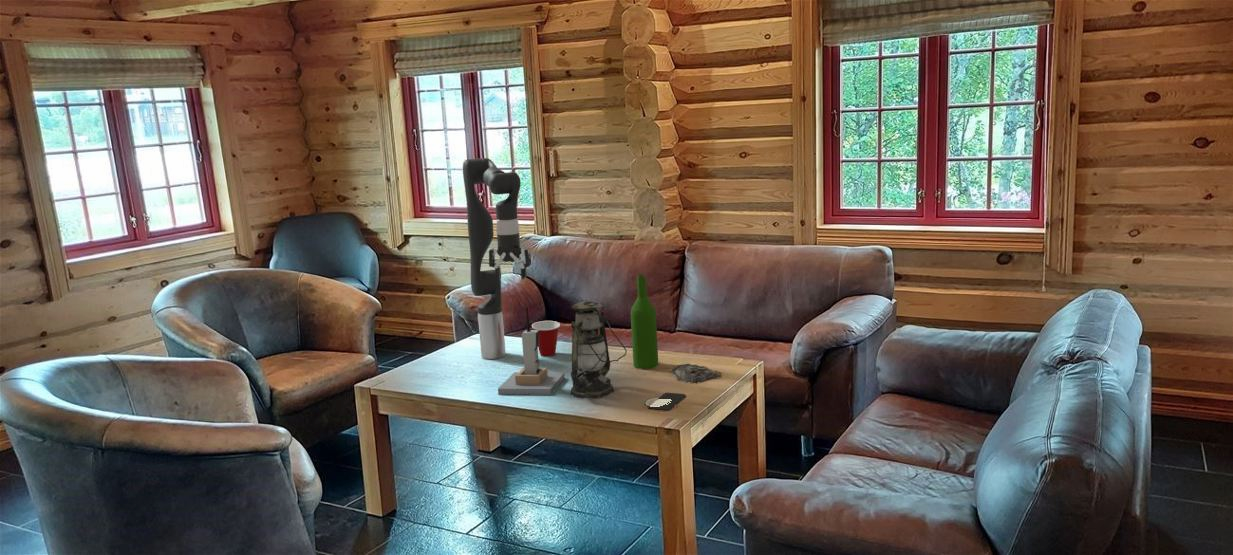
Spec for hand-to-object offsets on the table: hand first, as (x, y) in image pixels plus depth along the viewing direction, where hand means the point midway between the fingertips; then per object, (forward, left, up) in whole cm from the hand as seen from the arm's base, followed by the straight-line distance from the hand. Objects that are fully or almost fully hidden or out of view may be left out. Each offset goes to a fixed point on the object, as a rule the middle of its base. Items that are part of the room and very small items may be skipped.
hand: (511, 278), depth 303 cm
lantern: (+15, +31, -36) cm, 50 cm away
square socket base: (+9, +7, -35) cm, 37 cm away
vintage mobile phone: (+8, +8, -34) cm, 35 cm away
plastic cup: (-29, +2, -36) cm, 46 cm away
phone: (+24, +55, -36) cm, 70 cm away
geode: (-4, +60, -36) cm, 70 cm away
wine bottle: (-15, +42, -36) cm, 57 cm away
